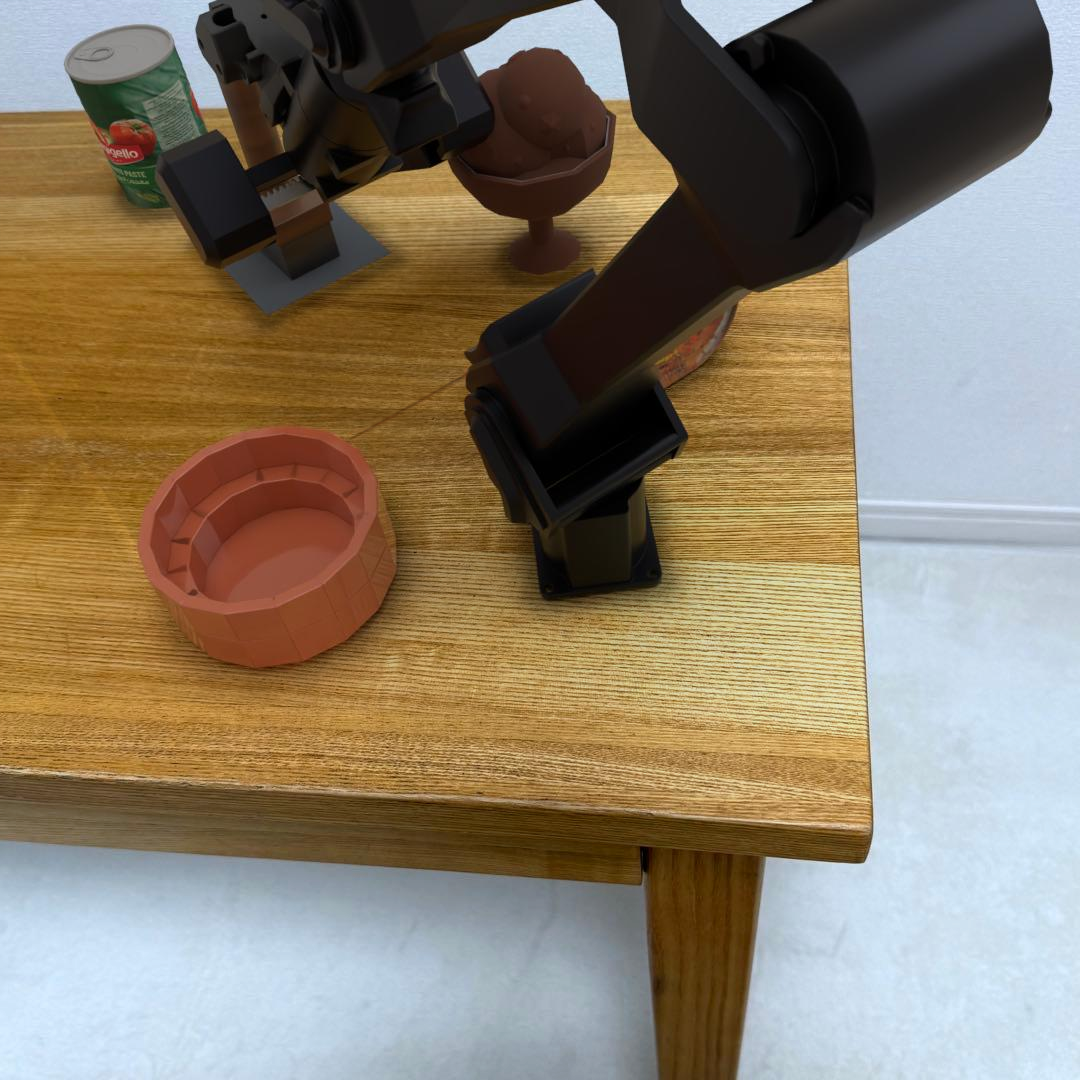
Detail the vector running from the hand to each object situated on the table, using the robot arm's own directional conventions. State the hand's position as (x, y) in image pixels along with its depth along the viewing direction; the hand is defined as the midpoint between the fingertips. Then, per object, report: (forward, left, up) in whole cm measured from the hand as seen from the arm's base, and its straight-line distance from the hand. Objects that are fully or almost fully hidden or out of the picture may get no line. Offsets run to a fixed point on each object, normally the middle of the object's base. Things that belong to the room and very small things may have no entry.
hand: (311, 195), depth 68 cm
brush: (+6, +3, -8) cm, 10 cm away
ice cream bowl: (+1, -14, -9) cm, 17 cm away
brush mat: (+6, +4, -8) cm, 11 cm away
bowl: (-24, +3, -8) cm, 25 cm away
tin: (-13, -18, -9) cm, 24 cm away
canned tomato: (+17, +14, -9) cm, 24 cm away
